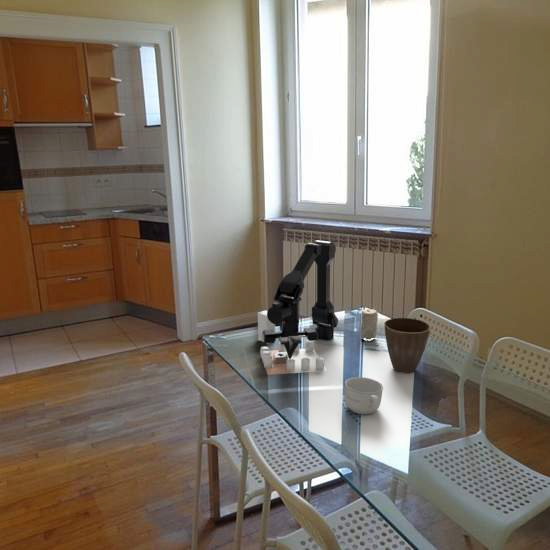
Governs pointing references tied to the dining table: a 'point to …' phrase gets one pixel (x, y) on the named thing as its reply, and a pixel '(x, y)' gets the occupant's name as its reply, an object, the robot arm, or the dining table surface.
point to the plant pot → (406, 342)
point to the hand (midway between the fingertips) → (289, 358)
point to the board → (293, 360)
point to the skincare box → (264, 324)
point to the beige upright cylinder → (368, 324)
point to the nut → (280, 358)
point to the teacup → (363, 394)
